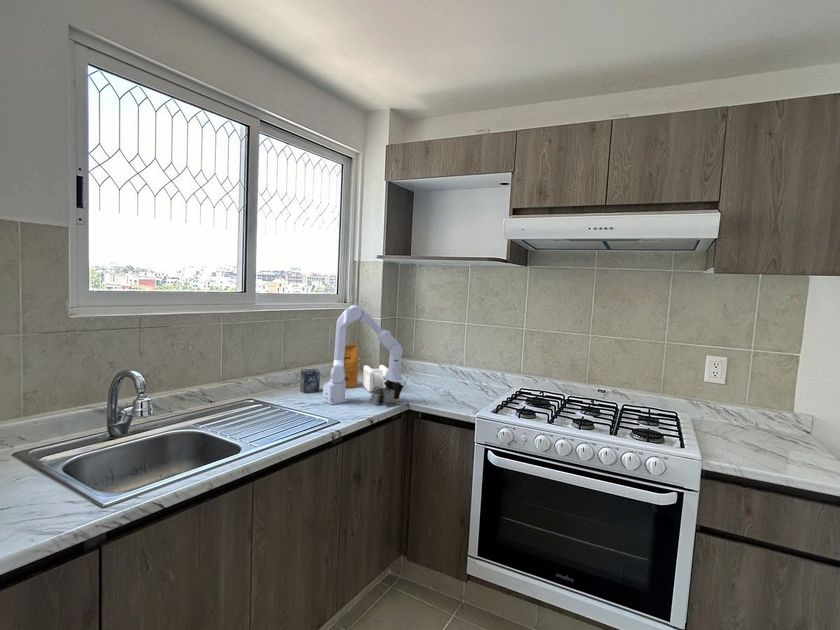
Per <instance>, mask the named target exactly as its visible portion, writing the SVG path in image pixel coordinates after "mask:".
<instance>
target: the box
mask: <svg viewBox="0 0 840 630" xmlns="http://www.w3.org/2000/svg"><path fill="white" fill-rule="evenodd" d="M320 381H321V370H319V369H318V368H305V369H303V368H302V369H300V381H299V382H300V383H299V385H300V387H299V391H300V392H301V393H303V394H308V393H319V392H320V387H321V385H320V383H321V382H320Z"/></svg>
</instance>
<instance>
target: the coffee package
mask: <svg viewBox="0 0 840 630" xmlns="http://www.w3.org/2000/svg"><path fill="white" fill-rule="evenodd" d="M333 365H334V360H333V362H332V366H333ZM344 370H345V380H346V387H345V389H351V388H356V387H358V376H359V373H358V372H359V355H358V347H357V343H350V344H345V354H344Z"/></svg>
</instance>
